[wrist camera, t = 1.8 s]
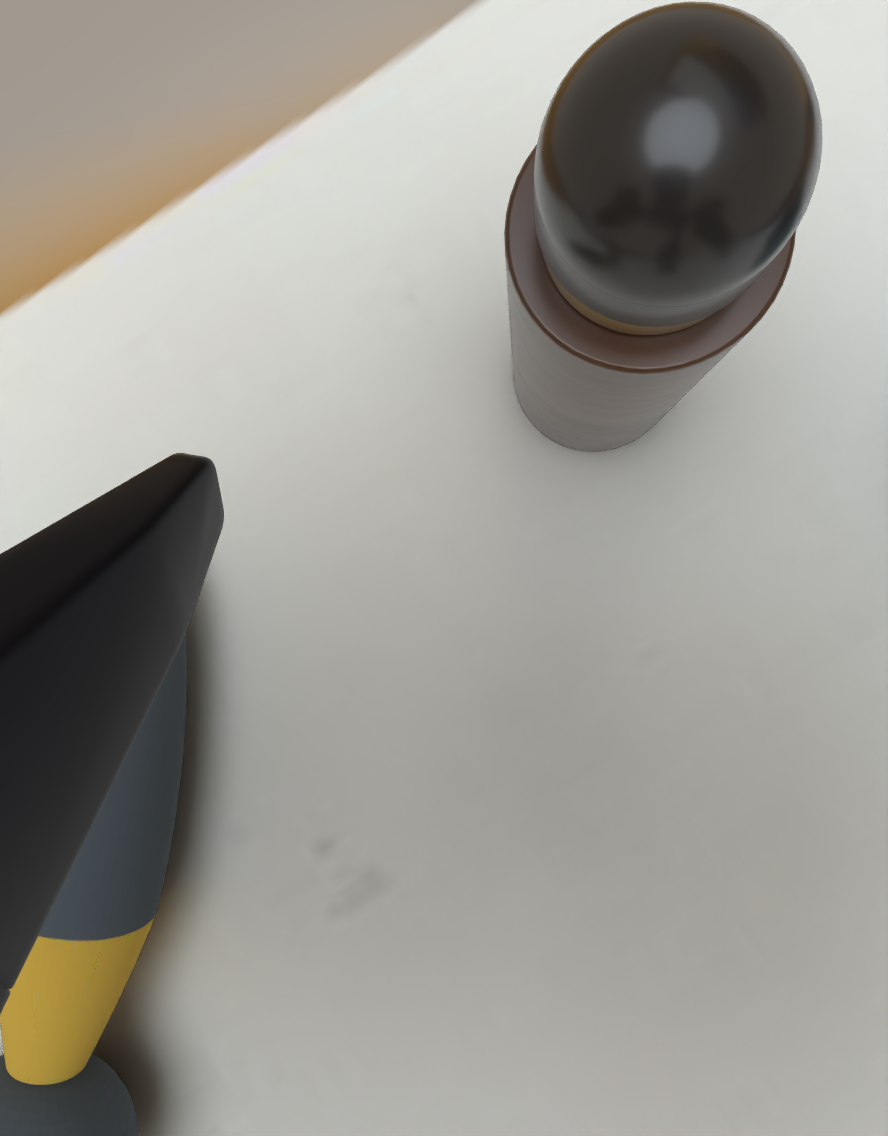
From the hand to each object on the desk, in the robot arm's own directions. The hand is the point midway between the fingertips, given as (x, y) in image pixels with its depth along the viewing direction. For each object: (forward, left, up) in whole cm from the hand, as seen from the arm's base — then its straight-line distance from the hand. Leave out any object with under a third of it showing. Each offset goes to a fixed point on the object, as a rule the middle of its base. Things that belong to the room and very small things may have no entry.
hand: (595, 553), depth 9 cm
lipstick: (+4, -2, -11) cm, 12 cm away
